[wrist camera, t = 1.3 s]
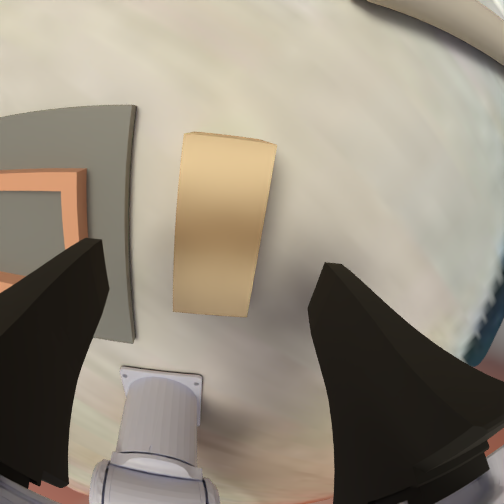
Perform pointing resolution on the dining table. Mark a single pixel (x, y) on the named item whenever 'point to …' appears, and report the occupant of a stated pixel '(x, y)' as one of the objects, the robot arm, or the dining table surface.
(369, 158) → the dining table surface
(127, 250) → the socket plate
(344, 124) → the dining table surface
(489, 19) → the tube
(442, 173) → the dining table surface
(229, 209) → the oak block
